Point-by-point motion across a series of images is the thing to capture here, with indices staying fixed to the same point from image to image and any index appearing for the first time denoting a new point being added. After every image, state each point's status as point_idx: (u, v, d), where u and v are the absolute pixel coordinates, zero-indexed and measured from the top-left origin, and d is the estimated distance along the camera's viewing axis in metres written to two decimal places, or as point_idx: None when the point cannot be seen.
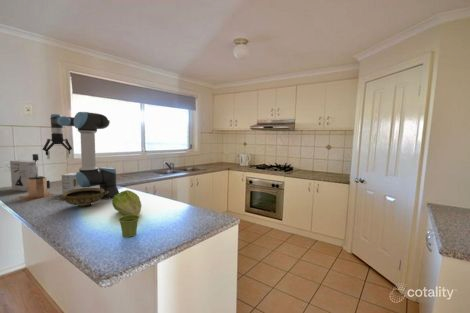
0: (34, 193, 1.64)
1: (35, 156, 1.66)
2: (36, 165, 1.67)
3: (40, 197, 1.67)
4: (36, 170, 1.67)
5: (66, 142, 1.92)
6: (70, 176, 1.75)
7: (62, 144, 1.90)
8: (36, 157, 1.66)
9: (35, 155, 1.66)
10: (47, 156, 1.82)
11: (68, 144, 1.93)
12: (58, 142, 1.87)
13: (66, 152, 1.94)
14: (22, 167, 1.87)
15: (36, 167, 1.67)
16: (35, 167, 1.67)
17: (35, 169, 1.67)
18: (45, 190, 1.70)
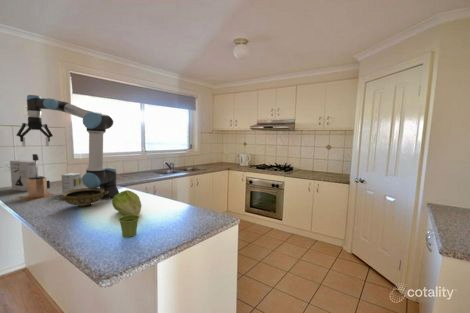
0: (34, 193, 1.64)
1: (35, 156, 1.66)
2: (36, 165, 1.67)
3: (40, 197, 1.67)
4: (36, 170, 1.67)
5: (45, 128, 1.68)
6: (70, 176, 1.75)
7: (40, 130, 1.66)
8: (36, 157, 1.66)
9: (35, 155, 1.66)
10: (22, 143, 1.58)
11: (48, 130, 1.69)
12: (36, 127, 1.63)
13: None
14: (22, 167, 1.87)
15: (36, 167, 1.67)
16: (35, 167, 1.67)
17: (35, 169, 1.67)
18: (45, 190, 1.70)
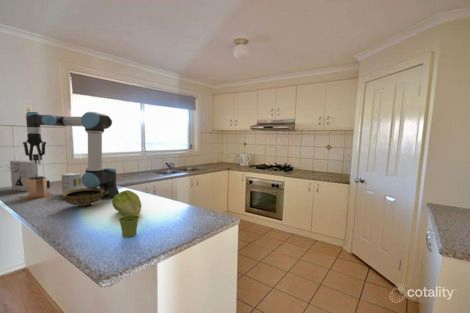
0: (34, 193, 1.64)
1: (35, 156, 1.66)
2: (36, 165, 1.67)
3: (40, 197, 1.67)
4: (36, 170, 1.67)
5: (42, 145, 1.70)
6: (70, 176, 1.75)
7: (37, 146, 1.67)
8: (36, 157, 1.66)
9: (35, 155, 1.66)
10: (31, 162, 1.65)
11: (43, 148, 1.70)
12: (35, 143, 1.65)
13: None
14: (22, 167, 1.87)
15: (36, 167, 1.67)
16: (35, 167, 1.67)
17: (35, 169, 1.67)
18: (45, 190, 1.70)
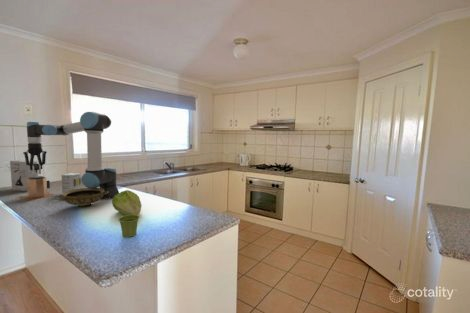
0: (34, 193, 1.64)
1: (36, 165, 1.66)
2: (37, 175, 1.68)
3: (40, 197, 1.67)
4: None
5: (43, 154, 1.70)
6: (70, 176, 1.75)
7: (37, 156, 1.68)
8: (37, 167, 1.67)
9: (36, 165, 1.66)
10: None
11: (44, 157, 1.70)
12: (36, 153, 1.66)
13: None
14: (22, 167, 1.87)
15: (37, 176, 1.68)
16: None
17: None
18: (45, 190, 1.70)
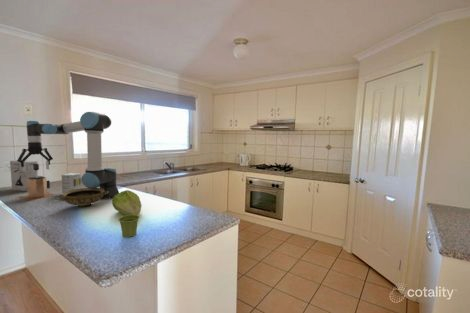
0: (34, 193, 1.64)
1: (36, 165, 1.66)
2: None
3: (40, 197, 1.67)
4: None
5: (45, 152, 1.71)
6: (70, 176, 1.75)
7: (41, 154, 1.69)
8: (37, 166, 1.67)
9: (36, 165, 1.66)
10: (23, 168, 1.62)
11: (48, 154, 1.72)
12: (36, 152, 1.66)
13: (46, 163, 1.73)
14: (22, 167, 1.87)
15: (37, 176, 1.68)
16: (36, 176, 1.68)
17: None
18: (45, 190, 1.70)
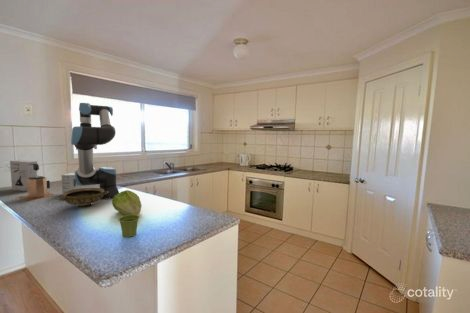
0: (34, 193, 1.64)
1: (36, 165, 1.66)
2: None
3: (40, 197, 1.67)
4: None
5: None
6: (70, 176, 1.75)
7: None
8: (37, 166, 1.67)
9: (36, 165, 1.66)
10: (76, 147, 1.74)
11: None
12: None
13: None
14: (22, 167, 1.87)
15: (37, 176, 1.68)
16: (36, 176, 1.68)
17: None
18: (45, 190, 1.70)
